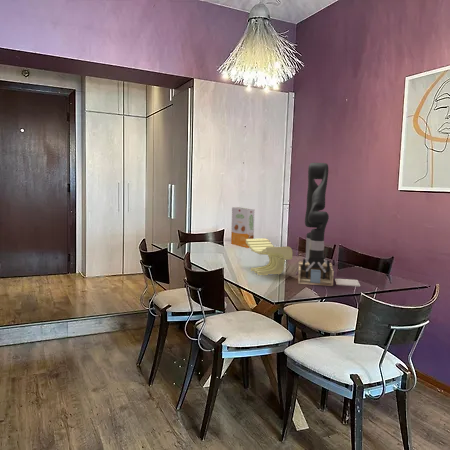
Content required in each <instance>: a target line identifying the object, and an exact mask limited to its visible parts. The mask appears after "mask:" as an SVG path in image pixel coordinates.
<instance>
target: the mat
mask: <svg viewBox="0 0 450 450" xmlns="http://www.w3.org/2000/svg"><path fill="white" fill-rule="evenodd" d="M334 281H335V284H336V286H347V287H361V284H360V282H359V280H358V279H346V278H334Z"/></svg>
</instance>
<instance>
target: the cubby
mask: <svg viewBox="0 0 450 450" xmlns="http://www.w3.org/2000/svg"><path fill="white" fill-rule="evenodd" d="M302 266H303V261H298V271H297V272H298V273H297V274H298V275H297V279H298V280H297V284H298V285H313V286H327V287H334V279H335V277H334V276H335V275H334V274H335V271H334V269H333V264H332V262H330V271H329V272H326V278H324V279H323V272H324V271H323V270H322V269H321V267H320V268H313V267H311V268H310V269H309V270H308V278H307V277H306V276H305V274H306V271H304V270H302ZM308 266H309V262H307V263H305V268H307V267H308ZM323 267H324V268H325V269H327V264H326V263H323ZM311 269H312V270H320V271H321V277H320V283H311V282H310V277H311Z"/></svg>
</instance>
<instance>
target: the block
mask: <svg viewBox="0 0 450 450" xmlns="http://www.w3.org/2000/svg"><path fill="white" fill-rule="evenodd" d="M320 277H321V271H320V270H312V269H311V277H310V282H311V283H320Z"/></svg>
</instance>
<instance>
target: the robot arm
mask: <svg viewBox="0 0 450 450" xmlns="http://www.w3.org/2000/svg"><path fill="white" fill-rule="evenodd" d="M307 169H308V170H307V173H308V174H307V181H308V183H307V192H306V193H307V194H306V209H305V217H304V224H305V227H306V228H313V229H311V230H310V232H307V233H306V238H305V239H306V240H305V258H303V259H302V262H303V266H302V270H304V271H306V274H305V276H306V277H307V278H308V270H309V269H310V268H311V267H313V268H320V267H321V269H322V270H323V271H324V272H323V279H324V278H326V272H329V271H330V263H331V261H330V260H329V259H325V260H324V254H325V253H324V252H325V233H326V232H325V231H326V228H327V225H328V222H329V217H330V216H329V213H328V212H327V211H324V209H325V208H326V191H327V186H328V181H329V180H328V178H329V164H328V163H326V162H310V163H309V165H308V168H307ZM316 180H321V181H320V184H319V185H318V183H317V182H316ZM307 262H309V266H308V267H307V268H305V263H307ZM324 262H325V263H326V264H327V269H325V268H324V267H323V263H324Z"/></svg>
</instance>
